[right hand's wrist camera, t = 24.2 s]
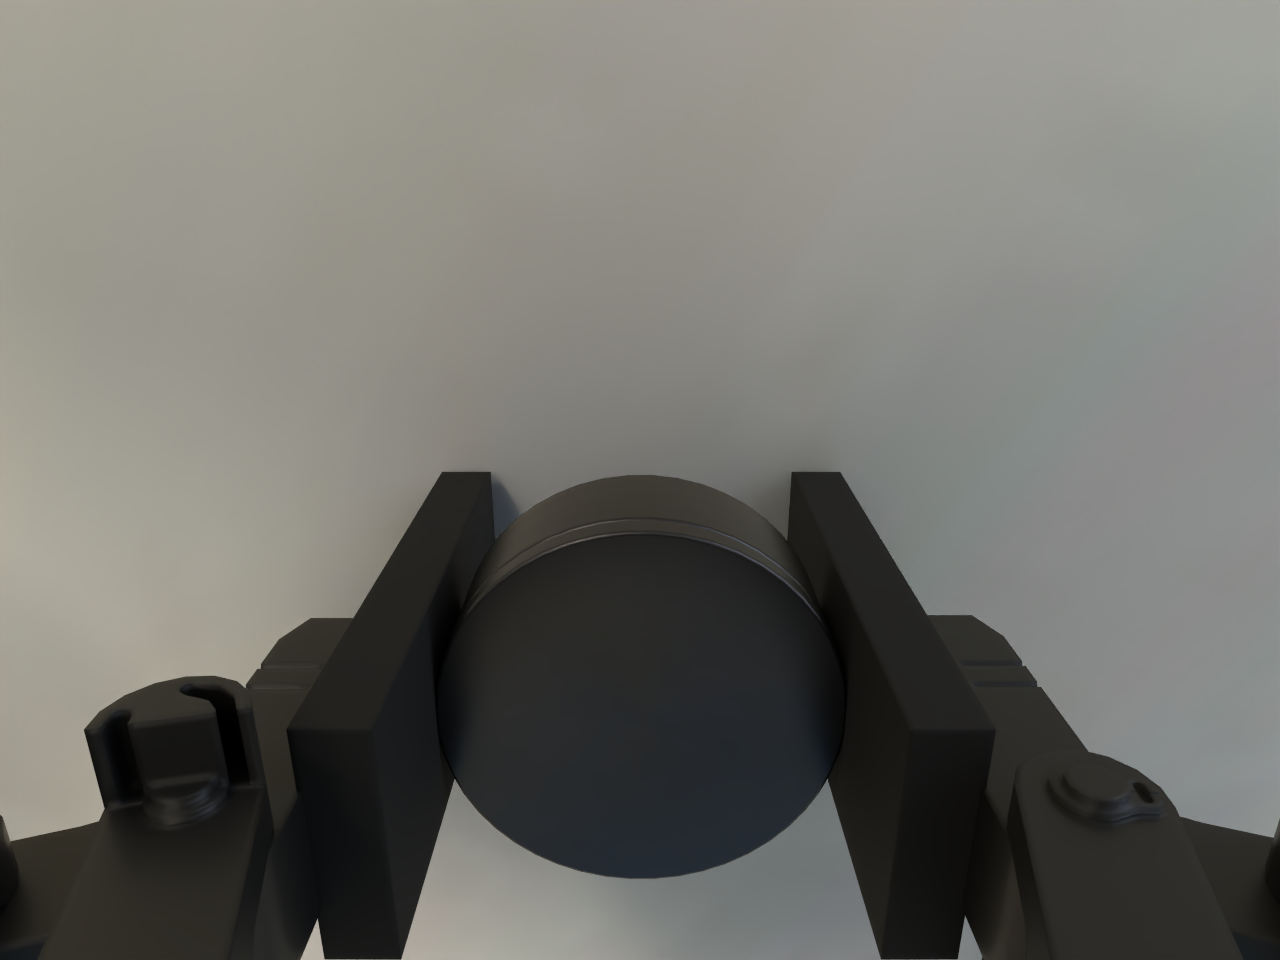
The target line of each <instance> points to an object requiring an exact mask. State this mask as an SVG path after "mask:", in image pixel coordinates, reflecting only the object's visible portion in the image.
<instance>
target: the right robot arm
mask: <svg viewBox="0 0 1280 960" xmlns="http://www.w3.org/2000/svg"><path fill="white" fill-rule="evenodd" d="M494 542H495V536H494V520H493V504H492V488H491V473H490V472H442V473H441V475H440V477H439V478H438V480H437V481H436V483H435V485H434V486H433V488H432V490H431V491H430V493H429V495H428V496H427V498H426V500H425V501H424V503H423V505H422V506H421V508H420V509H419V511H418V513H417V514H416V516H415V518H414V519H413V521H412V523H411V524H410V526H409V528H408V529H407V531H406V533H405V534H404V536H403V537H402V539H401V541H400V542H399V544H398V546H397V547H396V549H395V551H394V552H393V554H392V556H391V557H390V559H389V561H388V562H387V564H386V565H385V567H384V569H383V570H382V572H381V574H380V575H379V577H378V579H377V580H376V582H375V584H374V585H373V587H372V589H371V590H370V592H369V593H368V595H367V597H366V598H365V600H364V602H363V603H362V605H361V607H360V608H359V610H358V612H357V613H356V615H355V617H354V618H310V619H309V620H307V621H306V622H304V623H303V624H301V625H300V626H298V627H297V628H295V629H294V630H292V631H291V632H289V633H288V634H286V635H285V636H283V637H282V638H280V639H279V640H278V642H277V643H276V644H275V646H274V647H273V649H272V650H271V651H270V653H269V654H268V655H267V657H266V658H265V659H264V661H263V662H262V664H261V669H257V670H256V672H255V673H254V675H253V676H252V677H251V679H250V680H249V681H248V683H247V684H246V689H245V688H244V687H243V686H242V685H241V684H239V683H238V682H237V681H234V680H230V679H225V678H221V677H217V676H191V677H182V678H177V679H173V680H168V681H164V682H159V683H155V684H152V685H150V686H147V687H145V688H142V689H140V690H137V691H135V692H132V693H130V694H127V695H125V696H123V697H122V698H120V699H118V700H117V701H115V702H114V703H112V704H111V705H109V706H108V707H106V708H105V709H103V710H101V711H100V712H99V713H98V714H97V715H96V716H95V718H94V719H93V720H92V721H91V722H90V723H89V725H88V726H87V727H86V728H85V729H84V732H85V736H86V739H87V743H88V747H89V751H90V755H91V758H92V762H93V766H94V770H95V774H96V777H97V781H98V785H99V789H100V793H101V796H102V800H103V804H104V808H105V809H104V811H103V814H102V816H101V818H100V820H99V822H95V823H92V824H88V825H84V826H81V827H76V828H71V829H67V830H62V831H57V832H53V833H48V834H43V835H39V836H34V837H29V838H24V839H20V840H15V841H10V839H9V836H8V833H7V830H6V827H5V823H4V820H3V817H2V816H1V815H0V960H300V959H301V957H302V954H303V952H304V950H305V947H306V945H307V942H308V940H309V938H310V935H311V933H312V930H313V928H314V926H315V923H316V921H317V919H318V922H319V928H320V934H321V940H322V946H323V952H324V958H325V959H393V960H401V958H402V955H403V951H404V948H405V944H406V941H407V938H408V934H409V931H410V928H411V924H412V921H413V917H414V914H415V911H416V907H417V904H418V901H419V897H420V894H421V890H422V887H423V884H424V880H425V877H426V873H427V870H428V867H429V863H430V860H431V857H432V853H433V850H434V846H435V843H436V840H437V836H438V833H439V830H440V826H441V823H442V819H443V816H444V813H445V809H446V806H447V802H448V799H449V796H450V792H451V789H452V786H453V782H454V779H455V778H454V776H453V775H452V772H451V770H450V768H449V765H448V763H447V761H446V758H445V756H444V754H443V750H442V746H441V743H440V739H439V735H438V728H437V717H436V701H435V698H436V683H437V679H438V674H439V669H440V665H441V661H442V658H443V656H444V653H445V650H446V648H447V645H448V642H449V640H450V637H451V635H452V632H453V629H454V627H455V624H456V621H457V619H458V616H459V613H460V611H461V608H462V606H463V603H464V600H465V598H466V595H467V592H468V590H469V587H470V585H471V582H472V579H473V577H474V574H475V572H476V570H477V568H478V566H479V565H480V563H481V561H482V559H483V558H484V556H485V554H486V552H487V551H488V550H489V549H490V547H491V546H492V545H493V543H494ZM787 542H788V543H789V544H790V546H791V547H792V548H793V550H794V551H795V552H796V554H797V556H798V557H799V559H800V561H801V563H802V564H803V566H804V568H805V570H806V572H807V574H808V577H809V579H810V582H811V584H812V587H813V589H814V592H815V595H816V597H817V600H818V602H819V605H820V607H821V610H822V613H823V615H824V618H825V620H826V623H827V625H828V628H829V631H830V633H831V636H832V638H833V641H834V643H835V646H836V648H837V651H838V654H839V656H840V659H841V662H842V667H843V671H844V676H845V680H846V689H847V709H846V720H845V730H844V736H843V740H842V744H841V748H840V752H839V754H838V757H837V759H836V762H835V764H834V766H833V769H832V771H831V773H830V775H829V777H828V782H829V785H830V788H831V792H832V795H833V799H834V802H835V805H836V809H837V812H838V815H839V819H840V822H841V826H842V829H843V832H844V836H845V839H846V842H847V846H848V849H849V853H850V856H851V859H852V863H853V866H854V869H855V873H856V876H857V880H858V883H859V886H860V890H861V893H862V897H863V900H864V903H865V907H866V910H867V913H868V917H869V920H870V924H871V927H872V930H873V934H874V937H875V940H876V944H877V947H878V951H879V954H880V957H881V959H958V953H959V947H960V941H961V936H962V930H963V924H964V918H965V916H966V918H967V921H968V923H969V925H970V928H971V930H972V932H973V935H974V937H975V939H976V942H977V944H978V947H979V949H980V951H981V954H982V960H1280V820H1279V823H1278V826H1277V829H1276V833H1275V836H1274V838H1271V837H1266V836H1261V835H1257V834H1252V833H1247V832H1243V831H1238V830H1233V829H1229V828H1224V827H1219V826H1215V825H1210V824H1205V823H1201V822H1197V821H1194V820H1190V819H1187V818H1183V817H1180V816H1179V814H1178V812H1177V810H1176V808H1175V806H1174V805H1173V803H1172V802H1171V801H1170V799H1169V798H1168V797H1167V795H1166V794H1165V793H1164V791H1163V790H1162V789H1161V787H1159V786H1158V785H1157V784H1155V783H1154V782H1153V781H1151V780H1150V779H1149V778H1147V777H1146V776H1145V775H1143V774H1142V773H1141V772H1139V771H1138V770H1136V769H1134V768H1132V767H1130V766H1127V765H1125V764H1123V763H1121V762H1119V761H1116V760H1114V759H1112V758H1110V757H1107V756H1103V755H1099V754H1095V753H1091V752H1088V750H1087V749H1086V748H1085V746H1084V745H1083V744H1082V742H1081V741H1080V739H1079V738H1078V737H1077V735H1076V734H1075V733H1074V731H1073V730H1072V729H1071V727H1070V726H1069V725H1068V723H1067V722H1066V720H1065V719H1064V718H1063V716H1062V715H1061V714H1060V712H1059V711H1058V710H1057V708H1056V707H1055V706H1054V704H1053V703H1052V701H1051V700H1050V699H1049V697H1048V696H1047V695H1046V693H1045V692H1044V691H1043V689H1042V688H1041V687H1037V681H1036V680H1035V678H1034V677H1033V676H1032V674H1031V673H1030V672H1029V670H1028V669H1027V667H1026V666H1022V661H1021V659H1020V658H1019V657H1018V655H1017V654H1016V653H1015V651H1014V650H1013V648H1012V647H1011V646H1010V644H1009V643H1008V642H1007V640H1006V639H1005V638H1004V636H1002V635H1001V634H999V633H998V632H996V631H995V630H993V629H992V628H990V627H989V626H987V625H986V624H984V623H983V622H981V621H980V620H978V619H977V618H975V617H974V616H972V615H927V614H926V613H925V611H924V609H923V608H922V606H921V604H920V603H919V601H918V599H917V598H916V596H915V595H914V593H913V591H912V590H911V588H910V586H909V585H908V583H907V581H906V580H905V578H904V576H903V575H902V573H901V571H900V570H899V568H898V567H897V565H896V563H895V562H894V560H893V558H892V557H891V555H890V553H889V552H888V550H887V548H886V547H885V545H884V544H883V542H882V540H881V539H880V537H879V535H878V534H877V532H876V530H875V529H874V527H873V525H872V524H871V522H870V520H869V519H868V517H867V516H866V514H865V512H864V511H863V509H862V507H861V506H860V504H859V502H858V501H857V499H856V497H855V496H854V494H853V493H852V491H851V489H850V488H849V486H848V484H847V483H846V481H845V479H844V478H843V476H842V474H841V473H840V472H792V476H791V492H790V508H789V523H788V539H787Z"/></svg>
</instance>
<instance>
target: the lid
mask: <svg viewBox="0 0 1280 960" xmlns="http://www.w3.org/2000/svg"><path fill="white" fill-rule="evenodd" d="M435 701H436V717H437V728H438V735H439V739H440V743H441V746H442V750H443V754H444V756H445V758H446V761H447V763H448V765H449V768H450V770H451V772H452V775H453V776H454V778H455V780H456V781H457V783H458V785H459V786H460V788H461V790H462V791H463V793H464V794H465V796H466V797H467V798H468V799H469V801H470V802H471V803H472V804H473V806H474V807H475V808H476V809H477V811H478V812H479V813H480V814H481V815H482V816H483V817H484V818H485V819H486V820H488V821H489V822H490V823H491V824H492V825H493V826H494V827H495V828H496V829H497V830H499V831H500V832H501V833H503V834H504V835H505V836H507V837H508V838H509V839H511V840H512V841H513V842H515V843H517V844H518V845H520V846H522V847H523V848H525V849H527V850H529V851H530V852H532V853H534V854H536V855H538V856H540V857H542V858H545V859H547V860H549V861H552V862H554V863H556V864H559V865H562V866H565V867H568V868H572V869H575V870H578V871H581V872H586V873H591V874H596V875H601V876H607V877H617V878H627V879H656V878H665V877H675V876H682V875H686V874H691V873H696V872H700V871H705V870H708V869H711V868H714V867H717V866H720V865H723V864H726V863H728V862H731V861H733V860H735V859H737V858H740V857H742V856H744V855H746V854H748V853H750V852H752V851H754V850H755V849H757V848H759V847H760V846H762V845H764V844H765V843H767V842H769V841H770V840H772V839H773V838H774V837H776V836H777V835H778V834H779V833H781V832H782V831H783V830H785V829H786V828H787V827H789V826H790V825H791V824H792V823H793V822H794V821H795V820H796V819H797V818H798V817H799V816H800V815H801V814H802V813H803V812H804V811H805V810H806V809H807V807H808V806H809V805H810V803H811V802H812V801H813V800H814V798H815V797H816V796H817V795H818V793H819V792H820V790H821V789H822V787H823V785H824V784H825V782H826V780H827V778H828V777H829V775H830V773H831V771H832V769H833V766H834V764H835V762H836V759H837V757H838V754H839V752H840V748H841V744H842V740H843V736H844V730H845V720H846V709H847V689H846V680H845V676H844V671H843V667H842V662H841V659H840V656H839V654H838V651H837V648H836V646H835V643H834V641H833V638H832V636H831V633H830V631H829V628H828V625H827V623H826V620H825V618H824V615H823V613H822V610H821V607H820V605H819V602H818V600H817V597H816V595H815V592H814V589H813V587H812V584H811V582H810V579H809V577H808V574H807V572H806V570H805V568H804V566H803V564H802V563H801V561H800V559H799V557H798V556H797V554H796V552H795V551H794V550H793V548H792V547H791V546H790V544H789V543H788V542H787V541H786V539H785V538H784V537H783V536H782V534H781V533H780V532H779V531H778V530H777V529H776V528H774V527H773V526H772V525H771V524H770V523H769V522H768V521H767V520H766V519H765V518H764V517H762V516H761V515H760V514H758V513H757V512H756V511H754V510H753V509H751V508H750V507H749V506H747V505H746V504H744V503H742V502H740V501H739V500H737V499H735V498H733V497H731V496H729V495H727V494H726V493H723V492H721V491H718V490H716V489H713V488H710V487H708V486H705V485H703V484H699V483H695V482H691V481H687V480H683V479H679V478H671V477H663V476H655V475H627V476H619V477H611V478H603V479H599V480H595V481H591V482H588V483H584V484H580V485H577V486H574V487H572V488H569V489H567V490H564V491H562V492H559V493H557V494H555V495H553V496H551V497H549V498H547V499H546V500H544V501H542V502H540V503H538V504H537V505H535V506H533V507H532V508H531V509H529V510H528V511H527V512H525V513H524V514H523V515H521V516H520V517H519V518H517V519H516V520H515V521H514V522H513V523H512V524H511V525H510V526H509V527H508V528H507V529H506V530H505V531H504V532H503V533H502V534H501V535H500V536H499V537H498V538H497V539H496V541H495V542H494V543H493V545H492V546H491V547H490V549H489V550H488V551H487V552H486V554H485V556H484V558H483V559H482V561H481V563H480V565H479V566H478V568H477V570H476V572H475V574H474V577H473V579H472V582H471V585H470V587H469V590H468V592H467V595H466V598H465V600H464V603H463V606H462V608H461V611H460V613H459V616H458V619H457V621H456V624H455V627H454V629H453V632H452V635H451V637H450V640H449V642H448V645H447V648H446V650H445V653H444V656H443V658H442V661H441V665H440V669H439V674H438V679H437V683H436V698H435Z"/></svg>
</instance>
